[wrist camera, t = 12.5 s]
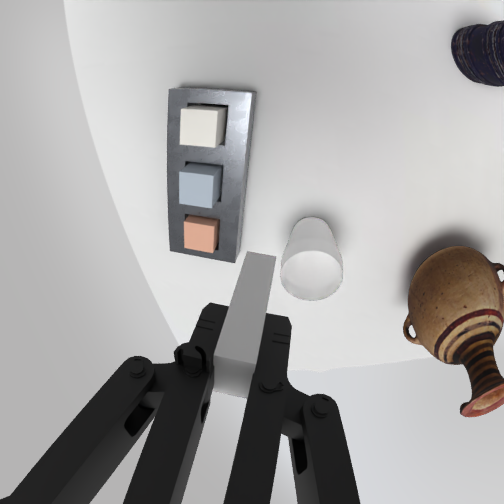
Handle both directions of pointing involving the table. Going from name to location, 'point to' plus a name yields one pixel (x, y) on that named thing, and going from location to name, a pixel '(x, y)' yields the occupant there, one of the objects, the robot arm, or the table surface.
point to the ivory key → (203, 125)
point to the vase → (461, 319)
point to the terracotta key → (201, 233)
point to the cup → (311, 261)
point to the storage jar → (480, 52)
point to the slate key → (200, 184)
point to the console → (226, 153)
